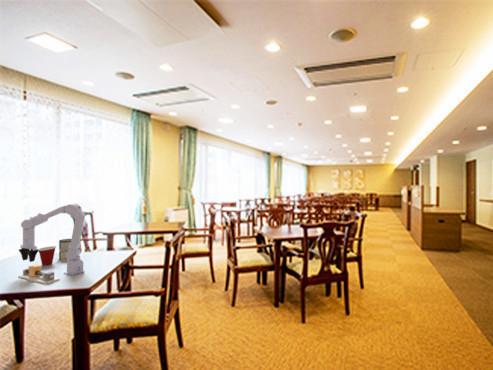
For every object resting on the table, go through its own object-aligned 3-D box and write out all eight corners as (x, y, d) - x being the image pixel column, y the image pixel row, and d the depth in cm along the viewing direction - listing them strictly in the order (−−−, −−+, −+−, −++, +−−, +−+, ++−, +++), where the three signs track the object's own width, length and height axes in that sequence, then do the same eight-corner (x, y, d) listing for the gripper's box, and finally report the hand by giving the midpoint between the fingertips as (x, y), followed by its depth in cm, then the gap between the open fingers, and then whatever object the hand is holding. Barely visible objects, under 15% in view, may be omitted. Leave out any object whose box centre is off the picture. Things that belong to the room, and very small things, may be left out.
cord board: (59, 280, 162) (59, 271, 162) (44, 284, 155) (44, 275, 155) (33, 273, 175) (33, 265, 175) (18, 277, 167) (18, 268, 167)
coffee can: (55, 259, 209) (55, 240, 209) (68, 255, 219) (68, 238, 219) (65, 260, 205) (65, 241, 206) (77, 257, 215) (78, 239, 215)
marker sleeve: (41, 274, 168) (41, 265, 168) (33, 277, 164) (33, 267, 164) (36, 273, 170) (36, 264, 170) (28, 275, 166) (28, 266, 166)
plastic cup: (40, 263, 198) (40, 246, 198) (57, 261, 202) (58, 245, 202) (34, 267, 188) (34, 249, 188) (53, 265, 191) (53, 248, 192)
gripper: (14, 238, 169) (14, 260, 169) (27, 240, 163) (27, 263, 163) (27, 236, 176) (27, 258, 176) (40, 238, 169) (40, 260, 169)
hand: (28, 260), depth 170 cm, fingers open, 7 cm apart
